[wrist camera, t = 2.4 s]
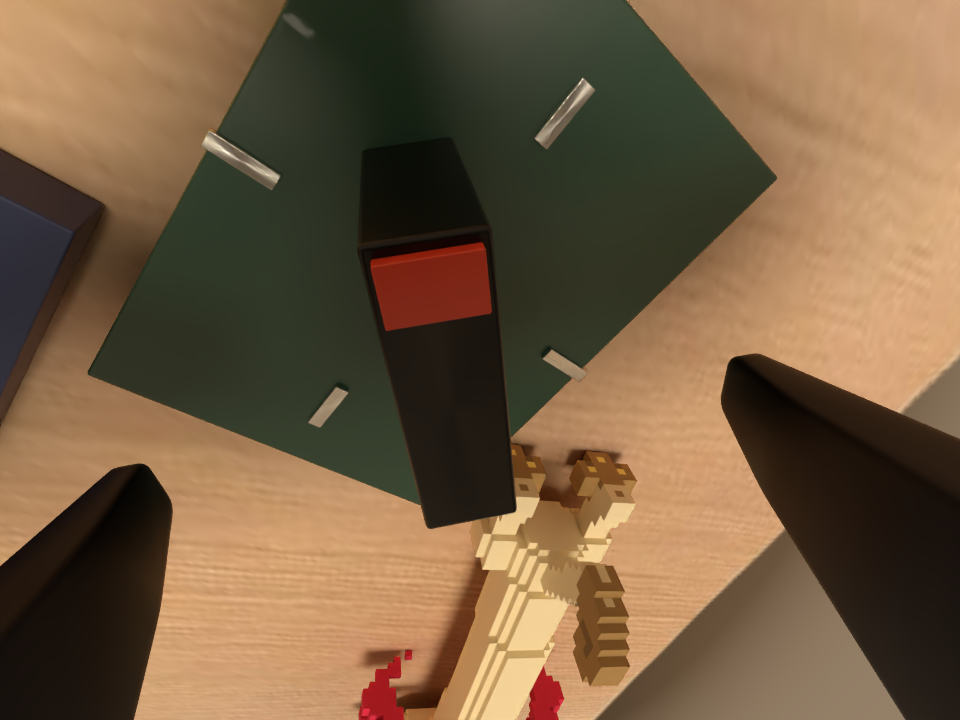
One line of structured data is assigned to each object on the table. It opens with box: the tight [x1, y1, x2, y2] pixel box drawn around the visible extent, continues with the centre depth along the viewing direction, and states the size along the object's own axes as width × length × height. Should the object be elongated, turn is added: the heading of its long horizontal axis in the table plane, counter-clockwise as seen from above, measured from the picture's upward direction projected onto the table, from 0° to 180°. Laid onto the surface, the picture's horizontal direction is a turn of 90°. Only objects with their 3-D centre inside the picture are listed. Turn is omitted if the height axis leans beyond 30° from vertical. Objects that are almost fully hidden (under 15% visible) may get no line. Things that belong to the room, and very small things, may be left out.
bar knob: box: [357, 138, 517, 529], centre depth 11 cm, size 6×2×5 cm, turn 6°
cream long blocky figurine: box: [359, 444, 637, 720], centre depth 24 cm, size 10×9×25 cm
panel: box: [88, 0, 777, 505], centre depth 14 cm, size 13×10×3 cm
